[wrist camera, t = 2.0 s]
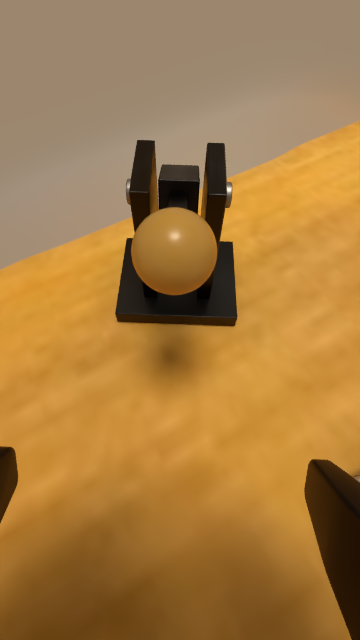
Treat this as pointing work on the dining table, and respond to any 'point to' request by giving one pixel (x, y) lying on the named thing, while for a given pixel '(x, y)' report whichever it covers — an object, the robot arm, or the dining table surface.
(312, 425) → the dining table surface
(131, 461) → the dining table surface
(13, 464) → the robot arm
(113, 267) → the dining table surface
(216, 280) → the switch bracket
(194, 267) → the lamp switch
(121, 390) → the dining table surface
